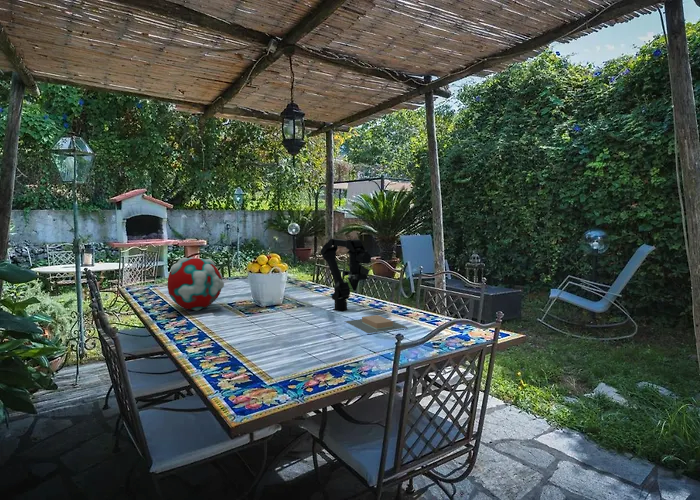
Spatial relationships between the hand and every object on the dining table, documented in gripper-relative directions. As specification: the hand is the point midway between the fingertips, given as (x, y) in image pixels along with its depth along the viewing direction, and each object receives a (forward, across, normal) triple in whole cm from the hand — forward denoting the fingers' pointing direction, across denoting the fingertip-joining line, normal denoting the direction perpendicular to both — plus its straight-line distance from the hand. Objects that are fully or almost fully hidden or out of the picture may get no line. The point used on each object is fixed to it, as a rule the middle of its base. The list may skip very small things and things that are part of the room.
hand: (354, 290), depth 227 cm
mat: (+13, -27, +2) cm, 30 cm away
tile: (+11, -21, +2) cm, 24 cm away
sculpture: (+13, +51, +76) cm, 92 cm away
